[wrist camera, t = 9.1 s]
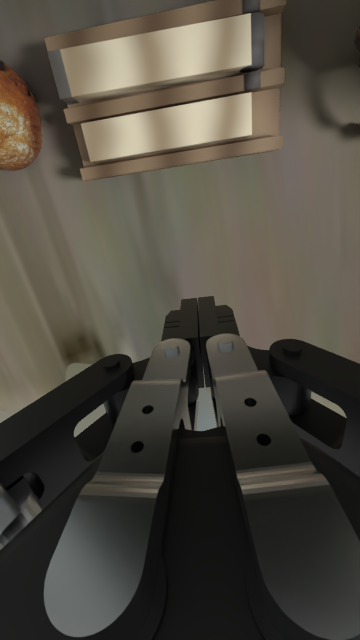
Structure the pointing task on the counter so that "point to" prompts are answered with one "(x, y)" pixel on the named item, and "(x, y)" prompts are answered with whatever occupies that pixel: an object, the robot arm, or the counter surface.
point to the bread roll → (17, 122)
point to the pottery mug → (357, 44)
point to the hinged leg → (159, 59)
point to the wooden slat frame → (180, 102)
